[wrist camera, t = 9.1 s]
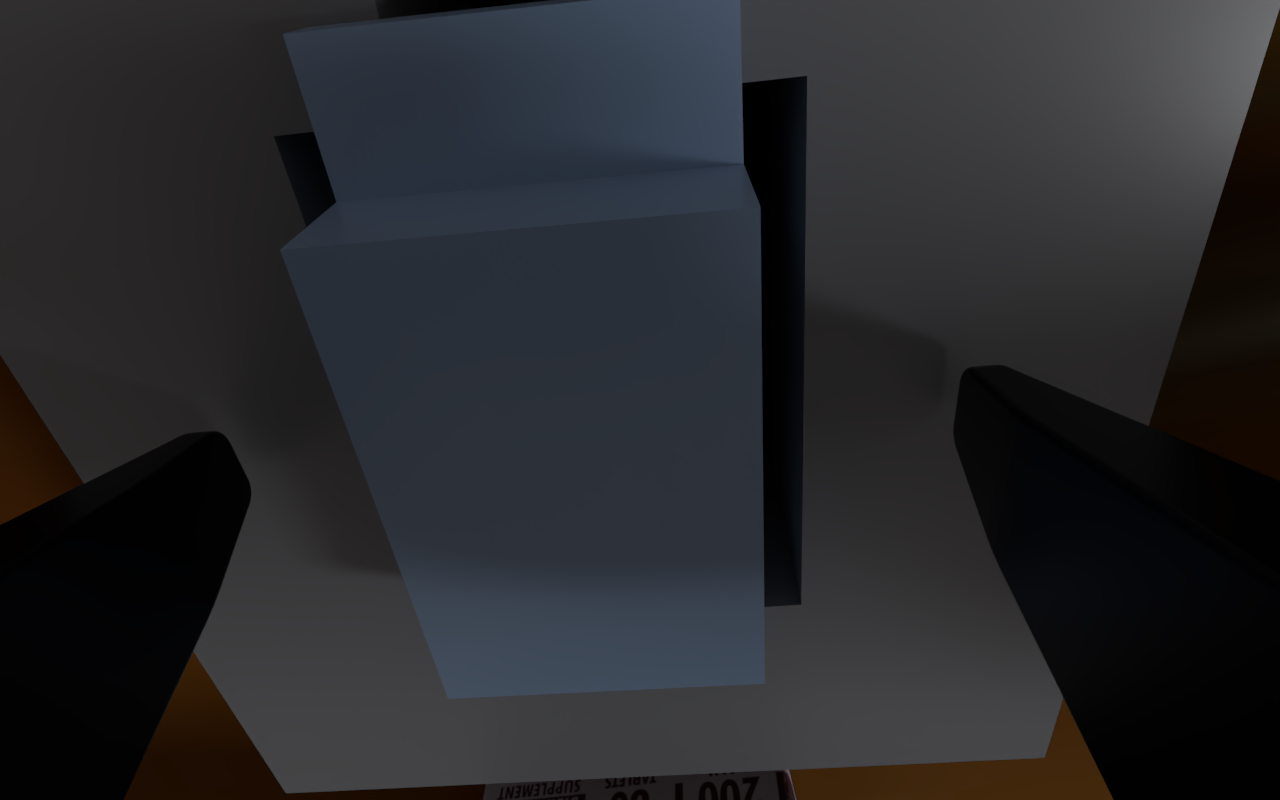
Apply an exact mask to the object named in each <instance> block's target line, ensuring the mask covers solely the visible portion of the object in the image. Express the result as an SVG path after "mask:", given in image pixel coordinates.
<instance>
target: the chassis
mask: <svg viewBox="0 0 1280 800" xmlns="http://www.w3.org/2000/svg"><path fill="white" fill-rule="evenodd" d="M467 9H473V6H472V1H471V0H0V356H1V357H2V359H3V360H4V362H5V363H6V365H7V366H8V368H9V369H10V371H11V372H12V374H13V375H14V377H15V379H16V380H17V382H18V383H19V385H20V386H21V388H22V389H23V391H24V392H25V394H26V395H27V397H28V398H29V400H30V402H31V403H32V405H33V406H34V408H35V409H36V411H37V412H38V414H39V415H40V417H41V418H42V420H43V421H44V423H45V425H46V426H47V428H48V429H49V431H50V432H51V434H52V435H53V437H54V438H55V440H56V441H57V443H58V444H59V446H60V448H61V449H62V451H63V452H64V454H65V455H66V457H67V458H68V460H69V461H70V463H71V464H72V466H73V467H74V469H75V471H76V472H77V474H78V475H79V477H80V478H81V480H82V481H83V483H86V482H88V481H90V480H92V479H94V478H96V477H98V476H100V475H102V474H104V473H106V472H109V471H111V470H113V469H115V468H117V467H119V466H121V465H123V464H125V463H127V462H129V461H131V460H133V459H135V458H137V457H139V456H141V455H143V454H145V453H147V452H149V451H151V450H153V449H155V448H157V447H159V446H161V445H163V444H165V443H167V442H169V441H171V440H173V439H175V438H177V437H179V436H181V435H184V434H187V433H194V432H206V431H218V432H220V433H222V434H224V435H225V436H226V437H227V438H228V440H229V441H230V443H231V445H232V447H233V449H234V451H235V453H236V455H237V457H238V459H239V461H240V463H241V465H242V467H243V469H244V471H245V473H246V475H247V477H248V479H249V482H250V485H251V501H250V505H249V508H248V511H247V513H246V516H245V519H244V522H243V525H242V528H241V531H240V534H239V537H238V540H237V542H236V545H235V548H234V551H233V554H232V557H231V560H230V563H229V566H228V568H227V571H226V574H225V577H224V580H223V583H222V586H221V589H220V591H219V594H218V597H217V599H216V602H215V605H214V607H213V609H212V612H211V614H210V616H209V618H208V621H207V623H206V625H205V627H204V629H203V631H202V634H201V636H200V638H199V640H198V642H197V644H196V646H195V649H194V651H193V652H194V653H195V655H196V656H197V658H198V659H199V661H200V662H201V664H202V665H203V667H204V668H205V670H206V672H207V673H208V675H209V676H210V678H211V679H212V681H213V682H214V684H215V685H216V687H217V688H218V690H219V691H220V693H221V695H222V696H223V698H224V699H225V701H226V702H227V704H228V705H229V707H230V708H231V710H232V711H233V713H234V714H235V716H236V718H237V719H238V721H239V722H240V724H241V725H242V727H243V728H244V730H245V731H246V733H247V734H248V736H249V738H250V739H251V741H252V742H253V744H254V745H255V747H256V748H257V750H258V751H259V753H260V754H261V756H262V757H263V759H264V761H265V762H266V764H267V765H268V767H269V768H270V770H271V771H272V773H273V774H274V776H275V777H276V779H277V780H278V782H279V784H280V785H281V787H282V788H283V790H284V791H285V793H305V792H326V791H347V790H369V789H390V788H411V787H432V786H454V785H475V784H496V783H518V782H539V781H560V780H581V779H603V778H624V777H645V776H666V775H688V774H709V773H730V772H751V771H773V770H794V769H815V768H836V767H858V766H879V765H900V764H921V763H943V762H964V761H985V760H1006V759H1028V758H1045V755H1046V752H1047V749H1048V745H1049V742H1050V739H1051V736H1052V733H1053V729H1054V726H1055V723H1056V720H1057V717H1058V713H1059V710H1060V707H1061V704H1062V701H1063V696H1062V694H1061V692H1060V690H1059V688H1058V686H1057V684H1056V682H1055V680H1054V678H1053V676H1052V674H1051V672H1050V669H1049V667H1048V665H1047V663H1046V661H1045V659H1044V657H1043V655H1042V653H1041V651H1040V649H1039V647H1038V645H1037V643H1036V641H1035V639H1034V637H1033V635H1032V633H1031V631H1030V629H1029V627H1028V625H1027V623H1026V621H1025V619H1024V617H1023V615H1022V613H1021V611H1020V609H1019V607H1018V605H1017V603H1016V601H1015V598H1014V596H1013V594H1012V592H1011V590H1010V588H1009V586H1008V584H1007V582H1006V580H1005V578H1004V576H1003V574H1002V572H1001V570H1000V568H999V566H998V563H997V561H996V559H995V557H994V555H993V552H992V550H991V547H990V545H989V542H988V539H987V537H986V534H985V531H984V528H983V525H982V522H981V519H980V516H979V513H978V511H977V508H976V505H975V502H974V499H973V496H972V493H971V490H970V487H969V484H968V482H967V479H966V476H965V473H964V470H963V467H962V464H961V461H960V458H959V455H958V453H957V450H956V446H955V442H954V435H953V426H954V418H955V411H956V404H957V397H958V390H959V383H960V378H961V376H962V373H963V372H964V371H965V369H967V368H969V367H974V366H985V365H1004V366H1007V367H1009V368H1012V369H1014V370H1017V371H1019V372H1021V373H1024V374H1026V375H1028V376H1031V377H1033V378H1036V379H1038V380H1040V381H1043V382H1045V383H1047V384H1050V385H1052V386H1055V387H1057V388H1059V389H1062V390H1064V391H1067V392H1069V393H1071V394H1074V395H1076V396H1078V397H1081V398H1083V399H1086V400H1088V401H1090V402H1093V403H1095V404H1097V405H1100V406H1102V407H1105V408H1107V409H1109V410H1112V411H1114V412H1116V413H1119V414H1121V415H1124V416H1126V417H1128V418H1131V419H1133V420H1136V421H1138V422H1140V423H1143V424H1145V425H1147V426H1149V423H1150V420H1151V417H1152V414H1153V411H1154V407H1155V404H1156V401H1157V398H1158V395H1159V391H1160V388H1161V385H1162V382H1163V379H1164V375H1165V372H1166V369H1167V366H1168V363H1169V360H1170V356H1171V353H1172V350H1173V347H1174V344H1175V340H1176V337H1177V334H1178V331H1179V328H1180V324H1181V321H1182V318H1183V315H1184V312H1185V309H1186V305H1187V302H1188V299H1189V296H1190V293H1191V289H1192V286H1193V283H1194V280H1195V277H1196V273H1197V270H1198V267H1199V264H1200V261H1201V257H1202V254H1203V251H1204V248H1205V245H1206V242H1207V238H1208V235H1209V232H1210V229H1211V226H1212V222H1213V219H1214V216H1215V213H1216V210H1217V206H1218V203H1219V200H1220V197H1221V194H1222V191H1223V187H1224V184H1225V181H1226V178H1227V175H1228V171H1229V168H1230V165H1231V162H1232V159H1233V155H1234V152H1235V149H1236V146H1237V143H1238V140H1239V136H1240V133H1241V130H1242V127H1243V124H1244V120H1245V117H1246V114H1247V111H1248V108H1249V104H1250V101H1251V98H1252V95H1253V92H1254V89H1255V85H1256V82H1257V79H1258V76H1259V73H1260V69H1261V66H1262V63H1263V60H1264V57H1265V53H1266V50H1267V47H1268V44H1269V41H1270V37H1271V34H1272V31H1273V28H1274V25H1275V22H1276V18H1277V15H1278V12H1279V9H1280V0H740V10H741V57H742V83H748V82H756V81H759V102H760V149H761V196H762V244H763V291H764V338H765V385H766V432H767V448H763V516H764V621H765V684H748V685H728V686H707V687H686V688H665V689H644V690H624V691H603V692H582V693H561V694H540V695H520V696H499V697H478V698H457V699H448V697H447V695H446V692H445V689H444V687H443V684H442V681H441V679H440V676H439V673H438V671H437V668H436V665H435V663H434V660H433V657H432V655H431V652H430V649H429V647H428V644H427V641H426V639H425V636H424V633H423V631H422V628H421V625H420V623H419V620H418V617H417V615H416V612H415V609H414V607H413V604H412V601H411V599H410V596H409V593H408V591H407V588H406V585H405V583H404V580H403V577H402V575H401V572H400V569H399V566H398V564H397V561H396V558H395V556H394V553H393V550H392V548H391V545H390V542H389V540H388V537H387V534H386V532H385V529H384V526H383V524H382V521H381V518H380V516H379V513H378V510H377V508H376V505H375V502H374V500H373V497H372V494H371V492H370V489H369V486H368V484H367V481H366V478H365V476H364V473H363V470H362V468H361V465H360V462H359V460H358V457H357V454H356V452H355V449H354V446H353V444H352V441H351V438H350V436H349V433H348V430H347V428H346V425H345V422H344V420H343V417H342V414H341V412H340V409H339V406H338V404H337V401H336V398H335V396H334V393H333V390H332V388H331V385H330V382H329V380H328V377H327V374H326V372H325V369H324V366H323V364H322V361H321V358H320V356H319V353H318V350H317V348H316V345H315V342H314V340H313V337H312V334H311V332H310V329H309V326H308V323H307V321H306V318H305V315H304V313H303V310H302V307H301V305H300V302H299V299H298V297H297V294H296V291H295V289H294V286H293V283H292V281H291V278H290V275H289V273H288V270H287V267H286V265H285V262H284V259H283V257H282V254H281V251H280V249H282V248H283V247H284V246H285V245H286V244H288V243H289V242H290V241H291V240H292V239H293V238H295V237H296V236H297V235H298V234H299V233H301V232H302V231H303V230H304V229H305V228H306V227H308V226H309V225H310V224H311V223H312V222H314V221H315V220H316V219H317V218H318V217H319V216H321V215H322V214H323V213H324V212H325V211H327V210H328V209H329V208H330V207H331V206H332V205H334V204H335V203H336V199H335V196H334V193H333V190H332V187H331V184H330V180H329V177H328V174H327V171H326V168H325V165H324V162H323V159H322V155H321V152H320V149H319V146H318V143H317V140H316V137H315V134H314V131H313V127H312V124H311V121H310V118H309V115H308V112H307V109H306V106H305V102H304V99H303V96H302V93H301V90H300V87H299V84H298V81H297V77H296V74H295V71H294V68H293V65H292V62H291V59H290V56H289V52H288V49H287V46H286V43H285V40H284V37H283V34H284V33H288V32H292V31H295V30H299V29H303V28H307V27H311V26H321V25H330V24H339V23H348V22H357V21H366V20H375V19H385V18H394V17H403V16H412V15H421V14H430V13H439V12H448V11H458V10H467Z"/></svg>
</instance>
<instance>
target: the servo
mask: <svg viewBox="0 0 1280 800" xmlns="http://www.w3.org/2000/svg"><path fill="white" fill-rule="evenodd" d="M508 2H509V5H503V6H494V7H485V8H476V9H467V10H458V11H448V12H439V13H430V14H421V15H412V16H403V17H394V18H385V19H375V20H366V21H357V22H348V23H339V24H330V25H321V26H311V27H307V28H303V29H299V30H295V31H292V32H288V33H284V34H283V37H284V40H285V43H286V46H287V49H288V52H289V56H290V59H291V62H292V65H293V68H294V71H295V74H296V77H297V81H298V84H299V87H300V90H301V93H302V96H303V99H304V102H305V106H306V109H307V112H308V115H309V118H310V121H311V124H312V127H313V131H314V134H315V137H316V140H317V143H318V146H319V149H320V152H321V155H322V159H323V162H324V165H325V168H326V171H327V174H328V177H329V180H330V184H331V187H332V190H333V193H334V196H335V199H336V203H335V204H334V205H332V206H331V207H330V208H329V209H328V210H327V211H325V212H324V213H323V214H322V215H321V216H319V217H318V218H317V219H316V220H315V221H314V222H312V223H311V224H310V225H309V226H308V227H306V228H305V229H304V230H303V231H302V232H301V233H299V234H298V235H297V236H296V237H295V238H293V239H292V240H291V241H290V242H289V243H288V244H286V245H285V246H284V247H283V248H282V249H280V251H281V254H282V257H283V259H284V262H285V265H286V267H287V270H288V273H289V275H290V278H291V281H292V283H293V286H294V289H295V291H296V294H297V297H298V299H299V302H300V305H301V307H302V310H303V313H304V315H305V318H306V321H307V323H308V326H309V329H310V332H311V334H312V337H313V340H314V342H315V345H316V348H317V350H318V353H319V356H320V358H321V361H322V364H323V366H324V369H325V372H326V374H327V377H328V380H329V382H330V385H331V388H332V390H333V393H334V396H335V398H336V401H337V404H338V406H339V409H340V412H341V414H342V417H343V420H344V422H345V425H346V428H347V430H348V433H349V436H350V438H351V441H352V444H353V446H354V449H355V452H356V454H357V457H358V460H359V462H360V465H361V468H362V470H363V473H364V476H365V478H366V481H367V484H368V486H369V489H370V492H371V494H372V497H373V500H374V502H375V505H376V508H377V510H378V513H379V516H380V518H381V521H382V524H383V526H384V529H385V532H386V534H387V537H388V540H389V542H390V545H391V548H392V550H393V553H394V556H395V558H396V561H397V564H398V566H399V569H400V572H401V575H402V577H403V580H404V583H405V585H406V588H407V591H408V593H409V596H410V599H411V601H412V604H413V607H414V609H415V612H416V615H417V617H418V620H419V623H420V625H421V628H422V631H423V633H424V636H425V639H426V641H427V644H428V647H429V649H430V652H431V655H432V657H433V660H434V663H435V665H436V668H437V671H438V673H439V676H440V679H441V681H442V684H443V687H444V689H445V692H446V695H447V697H448V699H457V698H478V697H499V696H520V695H540V694H561V693H582V692H603V691H624V690H644V689H665V688H686V687H707V686H728V685H748V684H765V621H764V516H763V410H762V304H761V207H760V204H759V202H758V199H757V197H756V194H755V191H754V189H753V186H752V184H751V181H750V179H749V176H748V174H747V171H746V169H745V166H744V151H743V104H742V57H741V10H740V0H508Z"/></svg>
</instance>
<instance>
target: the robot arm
mask: <svg viewBox="0 0 1280 800" xmlns="http://www.w3.org/2000/svg"><path fill="white" fill-rule="evenodd" d="M953 435H954V442H955V446H956V450H957V453H958V455H959V458H960V461H961V464H962V467H963V470H964V473H965V476H966V479H967V482H968V484H969V487H970V490H971V493H972V496H973V499H974V502H975V505H976V508H977V511H978V513H979V516H980V519H981V522H982V525H983V528H984V531H985V534H986V537H987V539H988V542H989V545H990V547H991V550H992V552H993V555H994V557H995V559H996V561H997V563H998V566H999V568H1000V570H1001V572H1002V574H1003V576H1004V578H1005V580H1006V582H1007V584H1008V586H1009V588H1010V590H1011V592H1012V594H1013V596H1014V598H1015V601H1016V603H1017V605H1018V607H1019V609H1020V611H1021V613H1022V615H1023V617H1024V619H1025V621H1026V623H1027V625H1028V627H1029V629H1030V631H1031V633H1032V635H1033V637H1034V639H1035V641H1036V643H1037V645H1038V647H1039V649H1040V651H1041V653H1042V655H1043V657H1044V659H1045V661H1046V663H1047V665H1048V667H1049V669H1050V672H1051V674H1052V676H1053V678H1054V680H1055V682H1056V684H1057V686H1058V688H1059V690H1060V692H1061V694H1062V696H1063V698H1064V700H1065V702H1066V704H1067V706H1068V708H1069V710H1070V712H1071V714H1072V716H1073V718H1074V720H1075V722H1076V724H1077V726H1078V728H1079V730H1080V732H1081V734H1082V736H1083V738H1084V741H1085V743H1086V745H1087V747H1088V749H1089V751H1090V753H1091V755H1092V757H1093V759H1094V761H1095V763H1096V765H1097V767H1098V769H1099V771H1100V773H1101V775H1102V777H1103V779H1104V781H1105V783H1106V785H1107V787H1108V789H1109V791H1110V793H1111V795H1112V797H1113V799H1114V800H1280V481H1279V480H1276V479H1274V478H1271V477H1269V476H1267V475H1264V474H1262V473H1259V472H1257V471H1255V470H1252V469H1250V468H1248V467H1245V466H1243V465H1240V464H1238V463H1236V462H1233V461H1231V460H1228V459H1226V458H1224V457H1221V456H1219V455H1217V454H1214V453H1212V452H1209V451H1207V450H1205V449H1202V448H1200V447H1197V446H1195V445H1193V444H1190V443H1188V442H1186V441H1183V440H1181V439H1178V438H1176V437H1174V436H1171V435H1169V434H1166V433H1164V432H1162V431H1159V430H1157V429H1155V428H1152V427H1150V426H1147V425H1145V424H1143V423H1140V422H1138V421H1136V420H1133V419H1131V418H1128V417H1126V416H1124V415H1121V414H1119V413H1116V412H1114V411H1112V410H1109V409H1107V408H1105V407H1102V406H1100V405H1097V404H1095V403H1093V402H1090V401H1088V400H1086V399H1083V398H1081V397H1078V396H1076V395H1074V394H1071V393H1069V392H1067V391H1064V390H1062V389H1059V388H1057V387H1055V386H1052V385H1050V384H1047V383H1045V382H1043V381H1040V380H1038V379H1036V378H1033V377H1031V376H1028V375H1026V374H1024V373H1021V372H1019V371H1017V370H1014V369H1012V368H1009V367H1007V366H1004V365H985V366H974V367H969V368H967V369H965V371H964V372H963V373H962V376H961V378H960V383H959V390H958V397H957V404H956V411H955V418H954V426H953ZM250 501H251V485H250V482H249V479H248V477H247V475H246V473H245V471H244V469H243V467H242V465H241V463H240V461H239V459H238V457H237V455H236V453H235V451H234V449H233V447H232V445H231V443H230V441H229V440H228V438H227V437H226V436H225V435H224V434H222V433H220V432H218V431H206V432H194V433H187V434H184V435H181V436H179V437H177V438H175V439H173V440H171V441H169V442H167V443H165V444H163V445H161V446H159V447H157V448H155V449H153V450H151V451H149V452H147V453H145V454H143V455H141V456H139V457H137V458H135V459H133V460H131V461H129V462H127V463H125V464H123V465H121V466H119V467H117V468H115V469H113V470H111V471H109V472H106V473H104V474H102V475H100V476H98V477H96V478H94V479H92V480H90V481H88V482H86V483H84V484H82V485H80V486H78V487H76V488H74V489H72V490H70V491H68V492H66V493H64V494H62V495H60V496H58V497H56V498H54V499H52V500H50V501H48V502H46V503H44V504H42V505H40V506H38V507H36V508H34V509H32V510H30V511H28V512H26V513H24V514H22V515H20V516H18V517H16V518H14V519H12V520H10V521H8V522H6V523H4V524H2V525H0V800H124V798H125V796H126V793H127V791H128V789H129V787H130V785H131V783H132V781H133V778H134V776H135V774H136V772H137V770H138V768H139V766H140V764H141V761H142V759H143V757H144V755H145V753H146V751H147V749H148V747H149V744H150V742H151V740H152V738H153V736H154V734H155V732H156V729H157V727H158V725H159V723H160V721H161V719H162V717H163V715H164V712H165V710H166V708H167V706H168V704H169V702H170V700H171V698H172V695H173V693H174V691H175V689H176V687H177V685H178V683H179V680H180V678H181V676H182V674H183V672H184V670H185V668H186V666H187V663H188V661H189V659H190V657H191V655H192V653H193V651H194V649H195V646H196V644H197V642H198V640H199V638H200V636H201V634H202V631H203V629H204V627H205V625H206V623H207V621H208V618H209V616H210V614H211V612H212V609H213V607H214V605H215V602H216V599H217V597H218V594H219V591H220V589H221V586H222V583H223V580H224V577H225V574H226V571H227V568H228V566H229V563H230V560H231V557H232V554H233V551H234V548H235V545H236V542H237V540H238V537H239V534H240V531H241V528H242V525H243V522H244V519H245V516H246V513H247V511H248V508H249V505H250Z"/></svg>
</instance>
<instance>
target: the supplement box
mask: <svg viewBox="0 0 1280 800" xmlns="http://www.w3.org/2000/svg"><path fill="white" fill-rule="evenodd" d="M483 800H796V797H795V793H794V789H793V785H792V780H791V776H790V772H789V770H773V771H751V772H730V773H709V774H688V775H666V776H645V777H624V778H603V779H581V780H560V781H539V782H518V783H496V784H486V787H485V791H484V797H483Z"/></svg>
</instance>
